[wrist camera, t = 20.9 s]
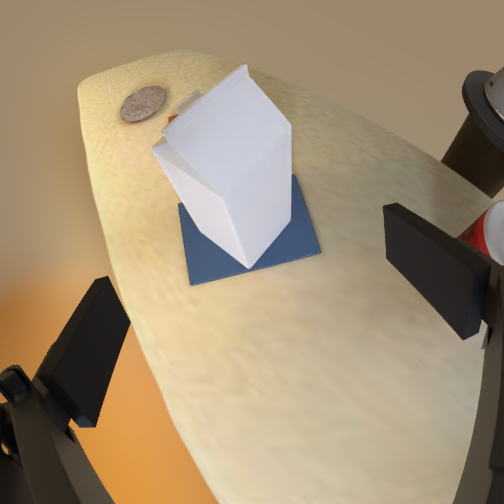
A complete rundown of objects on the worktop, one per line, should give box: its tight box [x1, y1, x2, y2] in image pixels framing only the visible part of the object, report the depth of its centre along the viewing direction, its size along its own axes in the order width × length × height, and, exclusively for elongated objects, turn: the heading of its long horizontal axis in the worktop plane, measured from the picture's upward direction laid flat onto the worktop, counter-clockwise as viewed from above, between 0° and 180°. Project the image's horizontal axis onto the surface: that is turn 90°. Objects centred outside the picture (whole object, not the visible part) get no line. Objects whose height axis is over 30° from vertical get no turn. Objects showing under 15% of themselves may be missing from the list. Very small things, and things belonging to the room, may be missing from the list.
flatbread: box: [120, 86, 165, 123], centre depth 43 cm, size 8×8×1 cm
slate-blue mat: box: [178, 174, 321, 286], centre depth 35 cm, size 14×10×1 cm
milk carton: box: [151, 63, 292, 269], centre depth 26 cm, size 7×7×19 cm
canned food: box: [457, 200, 504, 266], centre depth 25 cm, size 8×8×11 cm
